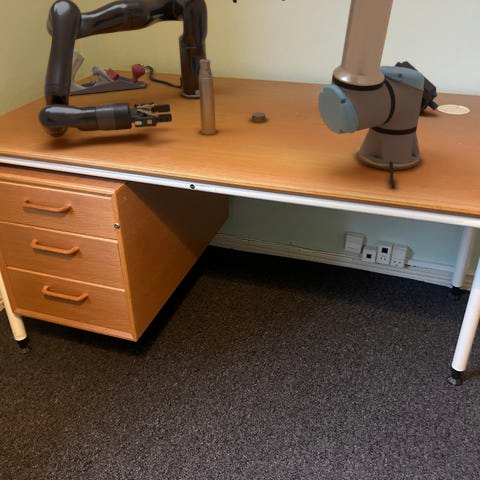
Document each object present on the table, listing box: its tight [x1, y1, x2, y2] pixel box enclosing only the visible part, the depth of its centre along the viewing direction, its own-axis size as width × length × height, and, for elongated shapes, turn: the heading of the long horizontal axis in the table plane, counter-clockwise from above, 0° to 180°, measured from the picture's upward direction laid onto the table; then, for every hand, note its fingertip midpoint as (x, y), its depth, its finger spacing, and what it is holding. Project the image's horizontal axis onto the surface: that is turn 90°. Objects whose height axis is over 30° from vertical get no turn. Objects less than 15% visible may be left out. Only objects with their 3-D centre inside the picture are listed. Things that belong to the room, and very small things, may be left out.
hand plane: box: [70, 48, 146, 96], centre depth 194 cm, size 7×31×15 cm, turn 107°
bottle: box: [199, 58, 217, 136], centre depth 153 cm, size 4×4×21 cm
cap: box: [251, 111, 266, 123], centre depth 166 cm, size 4×4×2 cm
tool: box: [394, 60, 439, 113], centre depth 169 cm, size 6×19×15 cm, turn 51°
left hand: (170, 112), depth 153 cm, fingers open, 8 cm apart
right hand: (258, 1), depth 148 cm, fingers open, 13 cm apart
